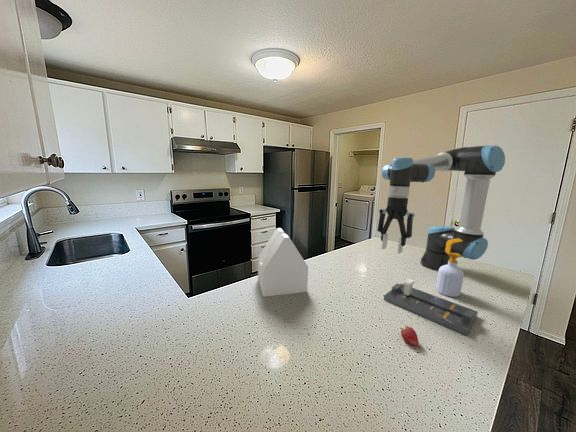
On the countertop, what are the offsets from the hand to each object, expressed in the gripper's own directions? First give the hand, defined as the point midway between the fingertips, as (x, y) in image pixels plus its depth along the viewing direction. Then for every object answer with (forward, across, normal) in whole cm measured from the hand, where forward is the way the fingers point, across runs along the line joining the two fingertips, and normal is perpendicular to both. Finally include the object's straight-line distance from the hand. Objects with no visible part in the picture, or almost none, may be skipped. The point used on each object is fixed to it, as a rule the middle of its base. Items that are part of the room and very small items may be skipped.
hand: (391, 250), depth 100 cm
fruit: (+19, +19, -25) cm, 37 cm away
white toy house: (+19, -33, -33) cm, 51 cm away
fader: (+16, +8, 0) cm, 18 cm away
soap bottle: (+19, +18, +20) cm, 33 cm away
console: (+19, +16, 0) cm, 25 cm away
